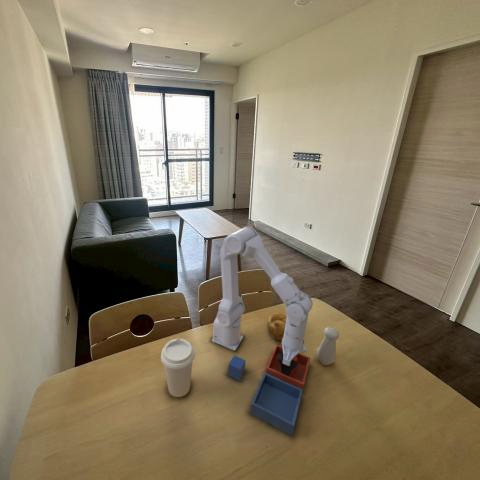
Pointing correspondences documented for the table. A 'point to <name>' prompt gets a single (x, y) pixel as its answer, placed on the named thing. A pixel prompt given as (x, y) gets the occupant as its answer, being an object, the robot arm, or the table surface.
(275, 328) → the bread roll
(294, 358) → the red block
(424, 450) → the table surface
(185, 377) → the coffee cup
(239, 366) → the blue block
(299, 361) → the red bin
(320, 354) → the salt shaker
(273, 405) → the blue bin
